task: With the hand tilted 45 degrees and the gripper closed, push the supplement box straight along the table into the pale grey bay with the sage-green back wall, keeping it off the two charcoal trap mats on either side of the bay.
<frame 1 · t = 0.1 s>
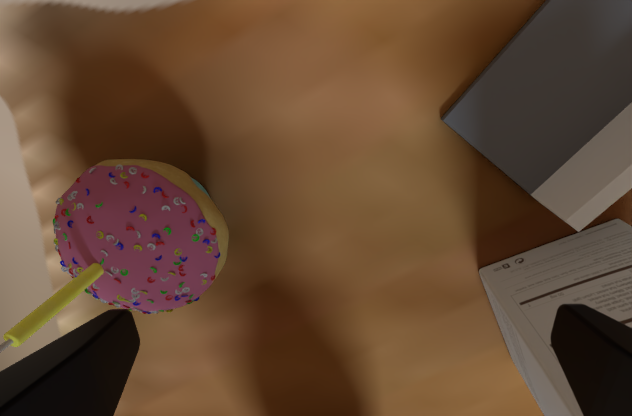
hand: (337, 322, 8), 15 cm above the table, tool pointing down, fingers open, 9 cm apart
supplement box: (559, 292, 25), on the table
cupcake: (177, 203, 23), on the table
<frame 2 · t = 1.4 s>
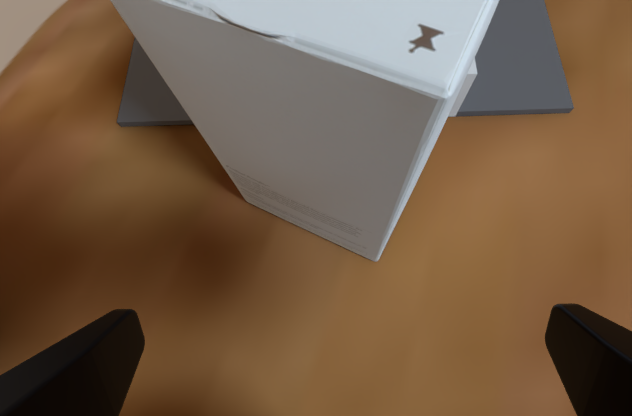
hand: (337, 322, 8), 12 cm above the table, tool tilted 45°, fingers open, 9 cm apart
supplement box: (339, 170, 23), on the table
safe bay: (336, 61, 26), on the table
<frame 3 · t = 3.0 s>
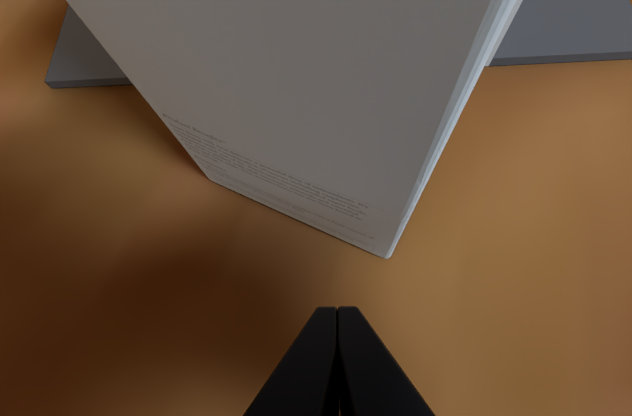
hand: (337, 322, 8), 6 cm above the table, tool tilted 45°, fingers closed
supplement box: (334, 138, 17), on the table
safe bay: (330, 3, 20), on the table
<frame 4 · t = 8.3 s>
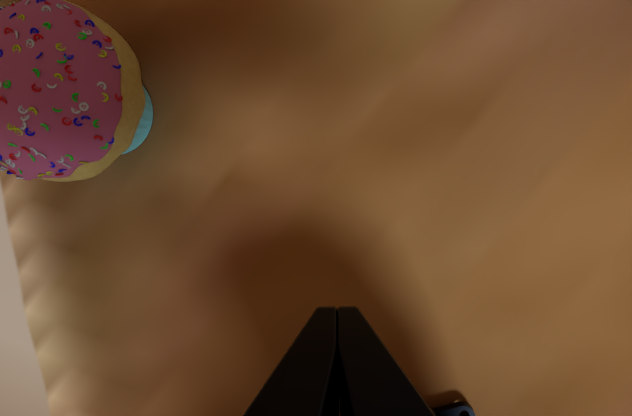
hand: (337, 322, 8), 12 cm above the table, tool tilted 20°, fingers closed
cupcake: (119, 112, 22), on the table
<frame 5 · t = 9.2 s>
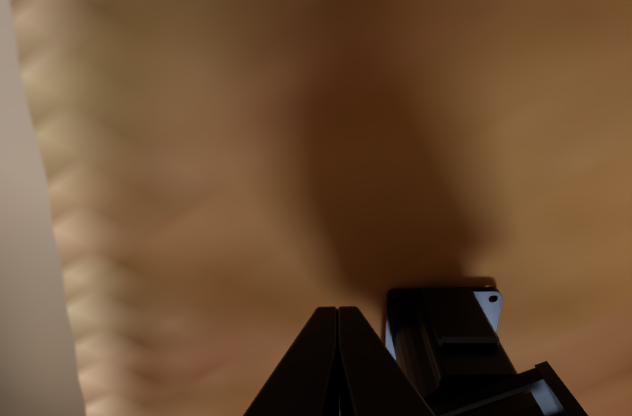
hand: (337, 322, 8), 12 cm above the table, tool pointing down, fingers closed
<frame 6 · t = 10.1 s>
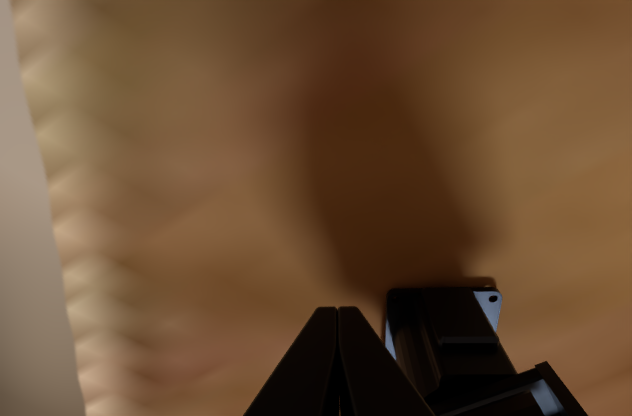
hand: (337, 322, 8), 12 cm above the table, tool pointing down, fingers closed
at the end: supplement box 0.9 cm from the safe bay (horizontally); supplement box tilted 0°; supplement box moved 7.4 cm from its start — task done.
